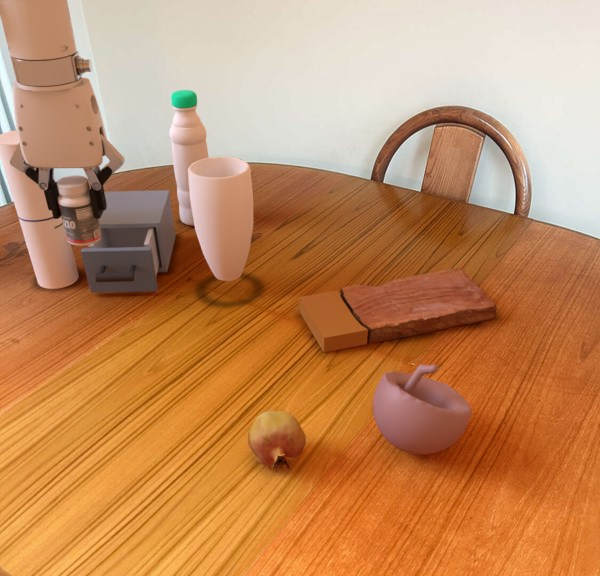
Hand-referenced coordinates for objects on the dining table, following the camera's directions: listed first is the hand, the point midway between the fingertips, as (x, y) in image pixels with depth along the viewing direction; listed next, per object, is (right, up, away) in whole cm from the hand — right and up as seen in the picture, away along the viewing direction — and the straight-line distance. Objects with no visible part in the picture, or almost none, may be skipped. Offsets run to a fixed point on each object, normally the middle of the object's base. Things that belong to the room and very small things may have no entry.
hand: (79, 213), depth 90 cm
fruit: (+27, -33, -7) cm, 43 cm away
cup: (+18, -6, +25) cm, 32 cm away
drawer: (0, -4, +27) cm, 27 cm away
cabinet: (-1, +2, +36) cm, 36 cm away
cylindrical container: (-13, -4, +29) cm, 32 cm away
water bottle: (+9, +12, +48) cm, 50 cm away
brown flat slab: (+46, -12, +18) cm, 51 cm away
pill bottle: (0, -3, +3) cm, 4 cm away
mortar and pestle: (+45, -31, -5) cm, 55 cm away
